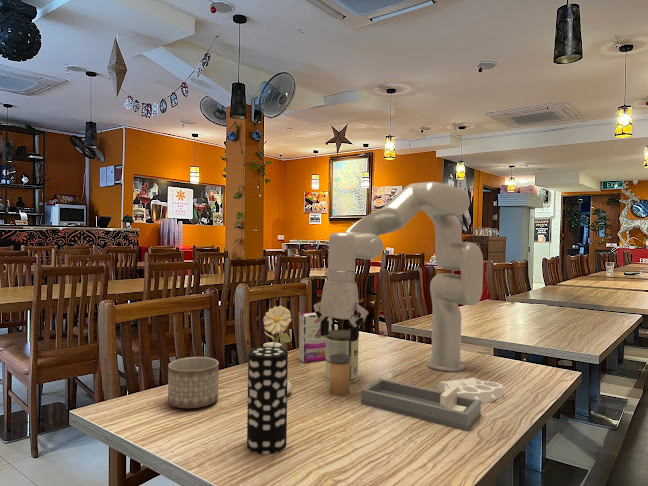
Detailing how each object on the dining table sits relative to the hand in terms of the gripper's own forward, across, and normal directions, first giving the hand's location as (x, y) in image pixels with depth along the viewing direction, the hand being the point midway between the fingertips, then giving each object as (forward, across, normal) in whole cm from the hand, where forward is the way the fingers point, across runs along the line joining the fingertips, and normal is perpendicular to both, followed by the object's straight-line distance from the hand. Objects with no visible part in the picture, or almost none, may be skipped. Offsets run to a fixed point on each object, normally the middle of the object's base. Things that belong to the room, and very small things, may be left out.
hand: (339, 337), depth 130 cm
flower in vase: (+16, -14, -11) cm, 24 cm away
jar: (+16, 0, +1) cm, 16 cm away
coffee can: (+16, -6, +12) cm, 20 cm away
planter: (+17, -27, -28) cm, 42 cm away
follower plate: (+14, +32, +3) cm, 35 cm away
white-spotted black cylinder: (+16, +4, -35) cm, 39 cm away
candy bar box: (+16, -24, +24) cm, 37 cm away
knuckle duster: (+16, +31, +21) cm, 41 cm away
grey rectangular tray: (+15, +23, +3) cm, 28 cm away
